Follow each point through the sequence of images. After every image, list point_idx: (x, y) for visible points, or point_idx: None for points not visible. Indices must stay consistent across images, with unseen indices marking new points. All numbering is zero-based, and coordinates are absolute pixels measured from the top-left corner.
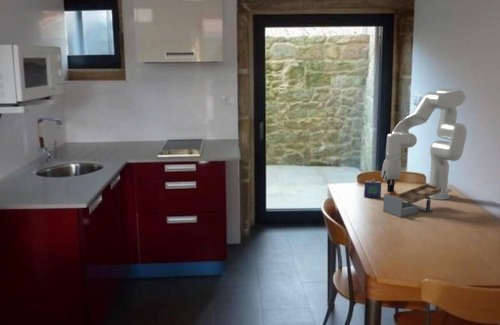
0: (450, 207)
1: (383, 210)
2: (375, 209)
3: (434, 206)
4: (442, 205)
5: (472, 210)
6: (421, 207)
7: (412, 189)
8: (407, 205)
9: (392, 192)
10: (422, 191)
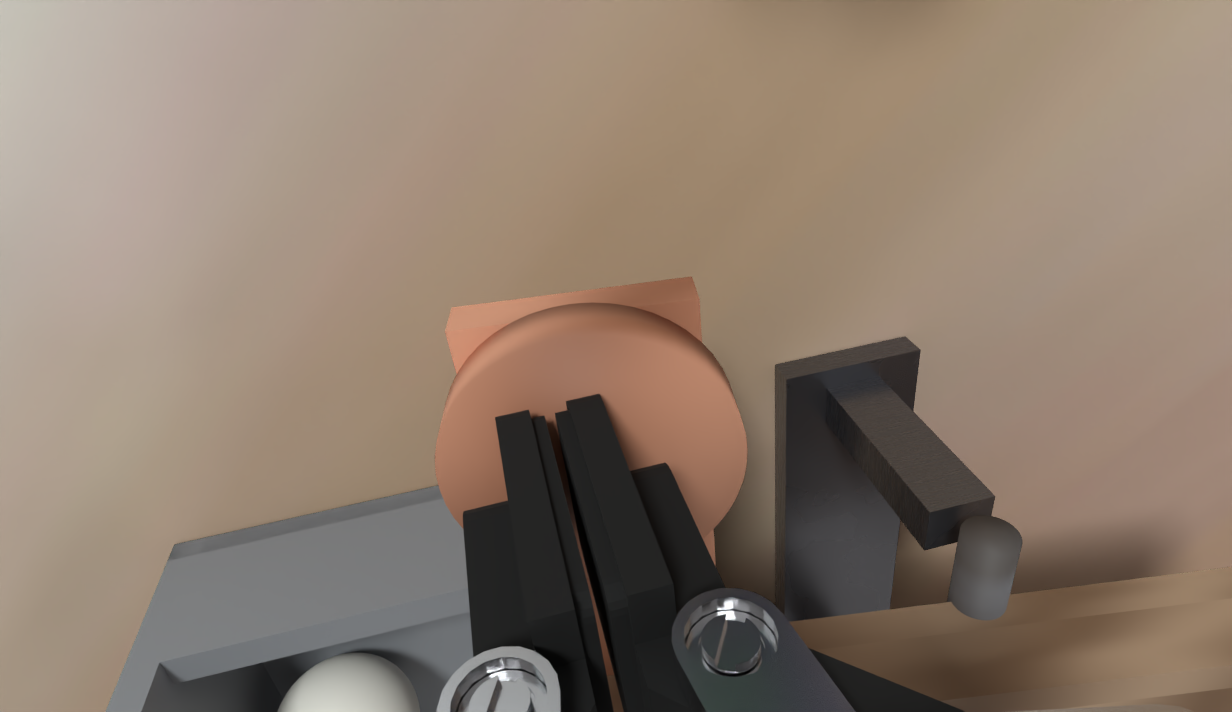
0: (1188, 567)
1: (170, 563)
2: (53, 416)
3: (1095, 499)
4: (1210, 487)
5: None
6: (864, 573)
7: (1029, 702)
8: None
9: None
10: (1131, 704)
